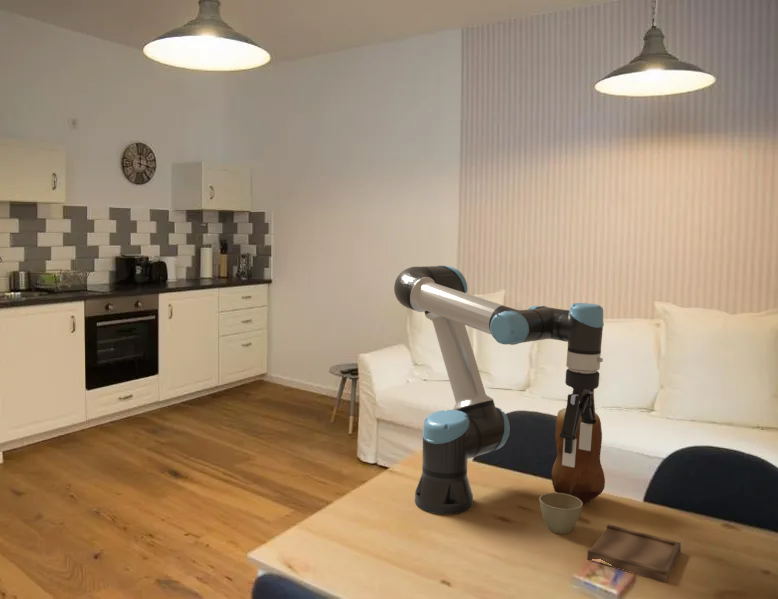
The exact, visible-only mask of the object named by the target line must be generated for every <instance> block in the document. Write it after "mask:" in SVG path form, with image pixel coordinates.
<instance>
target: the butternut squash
mask: <svg viewBox="0 0 778 599" xmlns="http://www.w3.org/2000/svg"><path fill="white" fill-rule="evenodd" d="M565 412H566V407H565V408H561V409H559V410H558V412H557V415H556V420H555V421H556V422H555V431H554V432H555V434H554V435H555V439H554V440H555V442H554V443H555V448H556V452H557V453H556V454H557V455H556V458H555V461H554V463H553V465H552V469H551V482H552V483H551V484H552V486H553V490H554V493H564V494H568V495H572V496H574V497H577V498H578V499H580V500H581V501H582V503H583V505H584V504H587V503H589V502H591V501H593V500H594V499H596V498H597V497H599V495H601V494H602V492H603V491H604V490H605V485H606V478H605V477H606V476H605V472H604V469H603V466H602V464H601V452H602V450H601V449H602V442H603V430H602V423H601V419H600V416H599V414H597V413H596V412H595V419H594V420H596V424H592V437H591V450H590V451H587V450H582V449H579V437H580V423H584V422H582V419H581V417H580V421H579V425H578V429H577V433H576V437H575V439H577V440H576V455H575V467H574V468H573V467H569V466H564V465H562V457H563V442H564V438H561V437H560V434H561V432H562V427H563V422H564V417H565ZM568 433H569V432H568Z"/></svg>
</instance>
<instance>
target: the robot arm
mask: <svg viewBox="0 0 778 599" xmlns="http://www.w3.org/2000/svg"><path fill="white" fill-rule="evenodd" d="M393 285H394V287H393V289H394V290H393V291H394V295H395V298H396V300H397V301H398V302H399V304H401V305H402V306H403V307H405V308H407V309H410V310H413V311H415V312H419V313H424V315H425V318H426V319H429V320H430V321H432V324H433V328H434V331H435V334H436V338H437V341H438V342H437V343H438V346H439V349H440V352H441V354H442V355H441V356H442V359H443V361H444V366H445V369H446V372H447V376H448V381H449V384H450V386H451V390H452V394H453V397H454V401H455V404H454V405H453V406H454V407H453V408H452V409H447V410H438V411H434V412H433V413H431V414H429V415H427V417H426V418H425V420H424V421H423V422H424V423H423V429H422V433H421V434H422V468H421V470H422V471H421V476H420V478H419V479H418V483H417V487H416V490H415V493H414V503H415V505H416V506H417V507H418V508H419V509H422V511H426V512H429V513H432V514H436V515H437V514H438V515H439V514H440V515H456V514H462V513H464V512H467V511H469V510H471V508H472V507H473V505H474V495H473V492H472V488H471V484H470V481H469V478H468V459H472V458H475V457H478V456H482V455H486V454H490V453H493V452H495V451H497V450H499V449H501V448H502V447H503V446H504V445H505V444H506V442H507V440H508V438H509V437H510V431H511V428H510V422H509V419H508V416H507V414H506V412H505V411H502V409H501V408H500V407H497V406H496V405H495V402H494V399H493V398H492V397H490V396H489V395H487V393H486V391H485V388H484V384H483V381H482V378H481V374H480V371H479V367H478V363H477V360H476V357H475V353H474V351H473V347H472V344H471V341H470V337H469V333H468V330H467V327H469V328H472V329H475V330H478V331H481V332H484V333H486V334H489V335H491V336H492V338H494V340H495V342H496V343H498V344H501V345H510V346H515V345H519V344H522V343H529V342H536V341H545V340H556V341H562V342H567V354H566V364H565V366H566V367H567V369H566V370H565V380H564V382H565V385H566V386H568V387H571V388H572V393H570V394H568V395H567V401H566V402H567V403H566V407H565V408H566V412H565V417H564V422H563V427H562V432H561V434H560V437H561V438H564V442H563V457H562V465H564V466H569V467H573V468H574V467H575V455H576V440H577V439H575V437H576V433H577V429H578V425H579V421H580V417H581V419H582V422H584V423H580V437H579V449H582V450H587V451H590V450H591V437H592V424H596V420H594V419H595V413H596V408H595V407H596V406H595V389H597V388H599V386H600V385H599V384H600V373H599V370H600V369H601V363H603V362H604V359H603V357H601V354H602V342H603V341H602V340H603V332H604V331H603V330H604V329H603V328H604V325H605V324H604V308H603V306H601V305H599V304H596V303H587V302H586V303H585V302H575V303H571V305H570V308H569V309H568V310H567V309H561V308H555V307H549V306H546V305H540V306H539V305H532V306H529V307H528V309H520V310H519V309H516V308H513V307H509V306H505V305H504V304H500V303H497V302H494V301H491V300H488V299H484V298H482V297H480V296H479V297H478V296H475V295H473V294H469V293H468V284H467V280H466V278H465V276H464V274H463V273H462V272H461V271H460V270H459V269H457V268H456V267H454V266H447V265H436V266H435V265H434V266H433V265H432V266H430V265H429V266H411V267H408V268H405V269H403V270H402V271H401V272H400V273H399V274H398V276H397V277H396V279H395V281H394V284H393ZM466 326H467V327H466ZM568 432H569V433H568Z"/></svg>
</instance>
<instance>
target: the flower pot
mask: <svg viewBox="0 0 778 599" xmlns="http://www.w3.org/2000/svg"><path fill="white" fill-rule="evenodd" d="M538 499H539V500H538V501H539V507H540V512H541V515H542V518H543V521H544V522H545V525H546V526H547V528H548V530H550V531H551V532H553V533H555V534H560V535H561V534H569V533H570V532H571V531H572V529H573V528H574V527H575V525H576V524H577V522H578V521H579V518H580V515H581V513H582V509H583V505H584V504H583V503H582V501H581V500H580V499H578V498H577V497H574V496H572V495H568V494H564V493H557V492H548V493H547V492H546V493H542V494H541V495H540V496H539V498H538Z"/></svg>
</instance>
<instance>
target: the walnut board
mask: <svg viewBox="0 0 778 599" xmlns="http://www.w3.org/2000/svg"><path fill="white" fill-rule="evenodd" d="M681 547H682V543H681V542H678V541H675V540H670V539H668V538H664V537H661V536H656V535H652V534H648V533H644V532H640V531H637V530H632V529H628V528H625V527H621V526H617V525H613V524H609V523H608V524H606V528H605V530H604V531H603V533H601V535H600V536H599V538H597V540H596V542H594V544H593V545H592V547H591V548H589V549H588V550H587V558H586V559H587V561H590V560H592V559H601V560H603V561H605V562H607V563H609V564H611V565H612V566H614V567H616V568H615V569H617V568H620V569H619V570H621V569H624V570H627V571H626V572H628V571H631V572H634V573H633V574H634V575H638V576H643V577H645V578H649V579H652V580H656V581H659V582H663V583H665V584H666V583H667V581H668V580H669V577H670V575H671V573H672V571H673V569H674V566H675V564H676V562H677V560H678V558H679V555H680V553H681ZM614 567H613V568H614ZM624 570H623V571H624ZM631 572H630V573H631Z"/></svg>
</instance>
